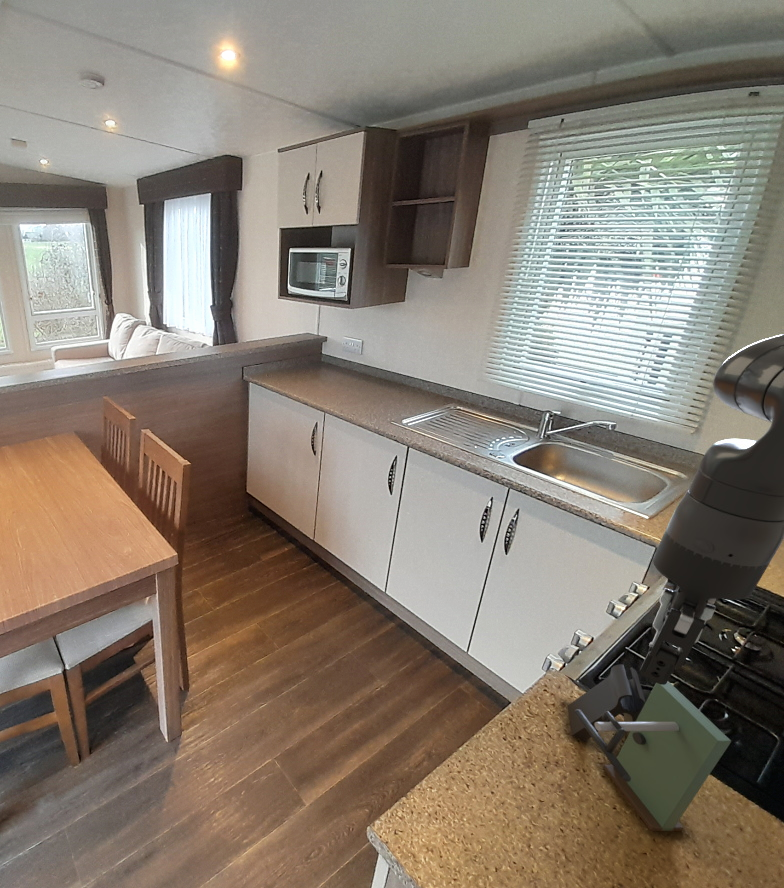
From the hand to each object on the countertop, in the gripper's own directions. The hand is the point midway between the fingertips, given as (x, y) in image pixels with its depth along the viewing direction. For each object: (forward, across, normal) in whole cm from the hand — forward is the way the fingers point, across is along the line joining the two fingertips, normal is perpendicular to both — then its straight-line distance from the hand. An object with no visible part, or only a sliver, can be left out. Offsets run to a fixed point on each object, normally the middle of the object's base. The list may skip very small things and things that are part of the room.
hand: (657, 656), depth 55 cm
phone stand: (+26, +12, 0) cm, 29 cm away
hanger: (+15, -2, +1) cm, 15 cm away
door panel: (+26, +1, -2) cm, 26 cm away
